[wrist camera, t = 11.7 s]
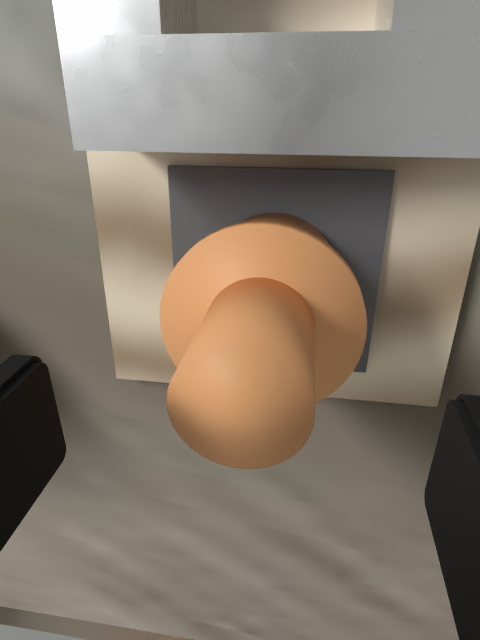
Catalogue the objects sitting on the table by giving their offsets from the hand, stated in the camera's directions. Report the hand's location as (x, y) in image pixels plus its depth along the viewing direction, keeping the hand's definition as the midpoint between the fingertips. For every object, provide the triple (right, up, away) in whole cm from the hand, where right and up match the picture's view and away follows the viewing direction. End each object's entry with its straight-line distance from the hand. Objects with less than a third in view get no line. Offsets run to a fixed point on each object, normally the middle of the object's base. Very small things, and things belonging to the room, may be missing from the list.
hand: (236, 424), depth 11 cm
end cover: (+2, +5, +11) cm, 12 cm away
